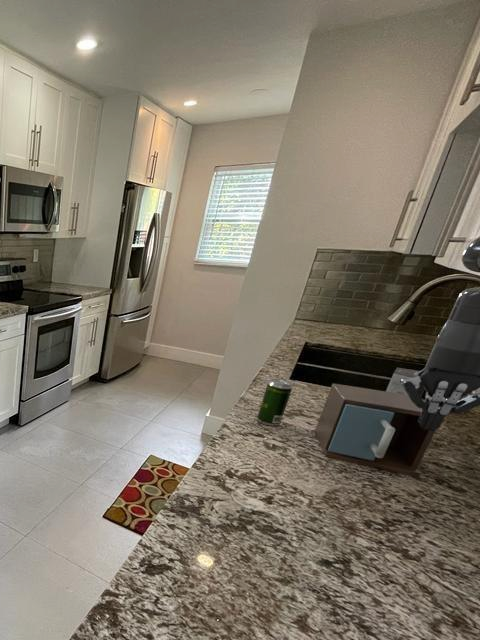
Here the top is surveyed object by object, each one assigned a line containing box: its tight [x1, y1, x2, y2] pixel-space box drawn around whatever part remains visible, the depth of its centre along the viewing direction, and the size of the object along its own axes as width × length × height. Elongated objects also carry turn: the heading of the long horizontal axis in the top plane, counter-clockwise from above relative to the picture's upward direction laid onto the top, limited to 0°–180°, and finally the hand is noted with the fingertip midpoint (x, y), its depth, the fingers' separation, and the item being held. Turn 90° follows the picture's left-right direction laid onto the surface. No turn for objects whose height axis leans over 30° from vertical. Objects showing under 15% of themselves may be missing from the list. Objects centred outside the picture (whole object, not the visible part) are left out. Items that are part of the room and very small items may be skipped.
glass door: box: [328, 404, 395, 461], centre depth 90 cm, size 8×6×12 cm
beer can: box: [257, 378, 293, 427], centre depth 111 cm, size 5×5×12 cm
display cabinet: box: [313, 383, 437, 478], centre depth 95 cm, size 16×14×14 cm
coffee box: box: [385, 367, 426, 397], centre depth 108 cm, size 9×6×16 cm
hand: (426, 428), depth 82 cm, fingers closed
